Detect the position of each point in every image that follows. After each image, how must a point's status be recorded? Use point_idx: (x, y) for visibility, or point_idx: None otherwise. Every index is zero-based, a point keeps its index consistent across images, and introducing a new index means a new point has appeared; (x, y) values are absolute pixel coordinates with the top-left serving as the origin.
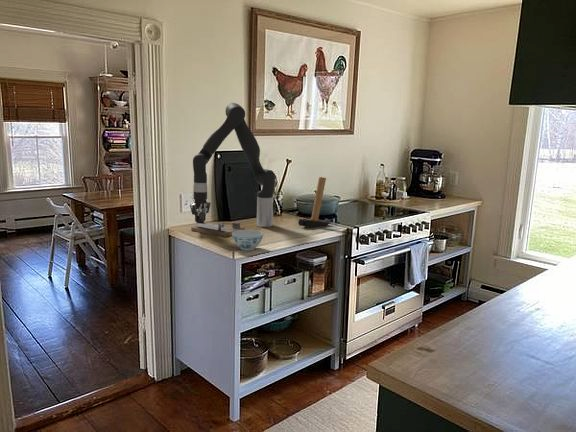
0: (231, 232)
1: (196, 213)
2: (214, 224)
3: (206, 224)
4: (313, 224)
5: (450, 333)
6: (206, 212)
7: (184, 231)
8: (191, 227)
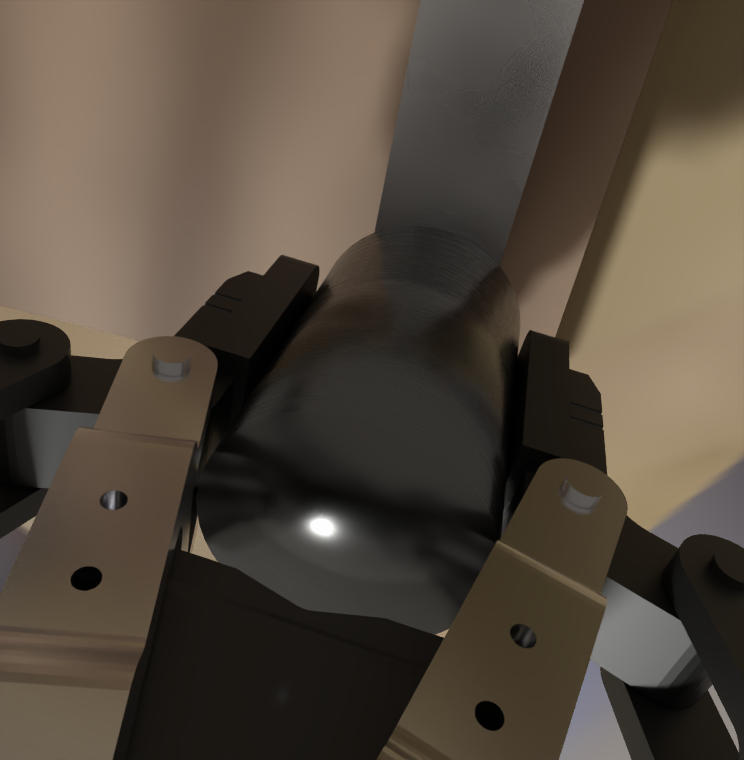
0: None
1: (701, 575)
2: (19, 106)
3: (571, 32)
4: None
5: None
6: (78, 375)
7: (628, 469)
8: None
